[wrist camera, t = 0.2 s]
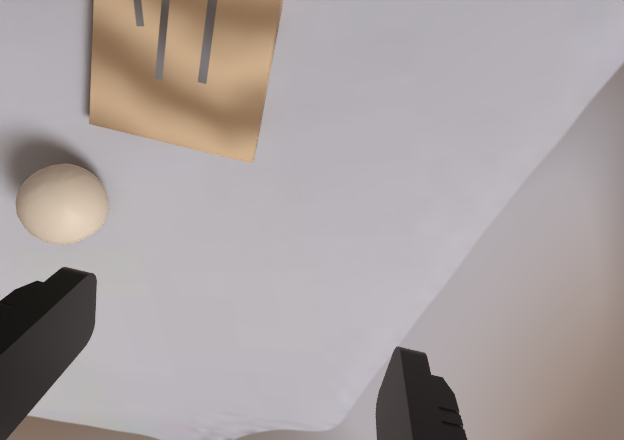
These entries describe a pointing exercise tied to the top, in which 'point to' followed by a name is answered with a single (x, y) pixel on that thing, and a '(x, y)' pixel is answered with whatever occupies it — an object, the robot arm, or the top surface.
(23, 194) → the baseball
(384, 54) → the top surface
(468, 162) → the top surface
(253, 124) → the board
